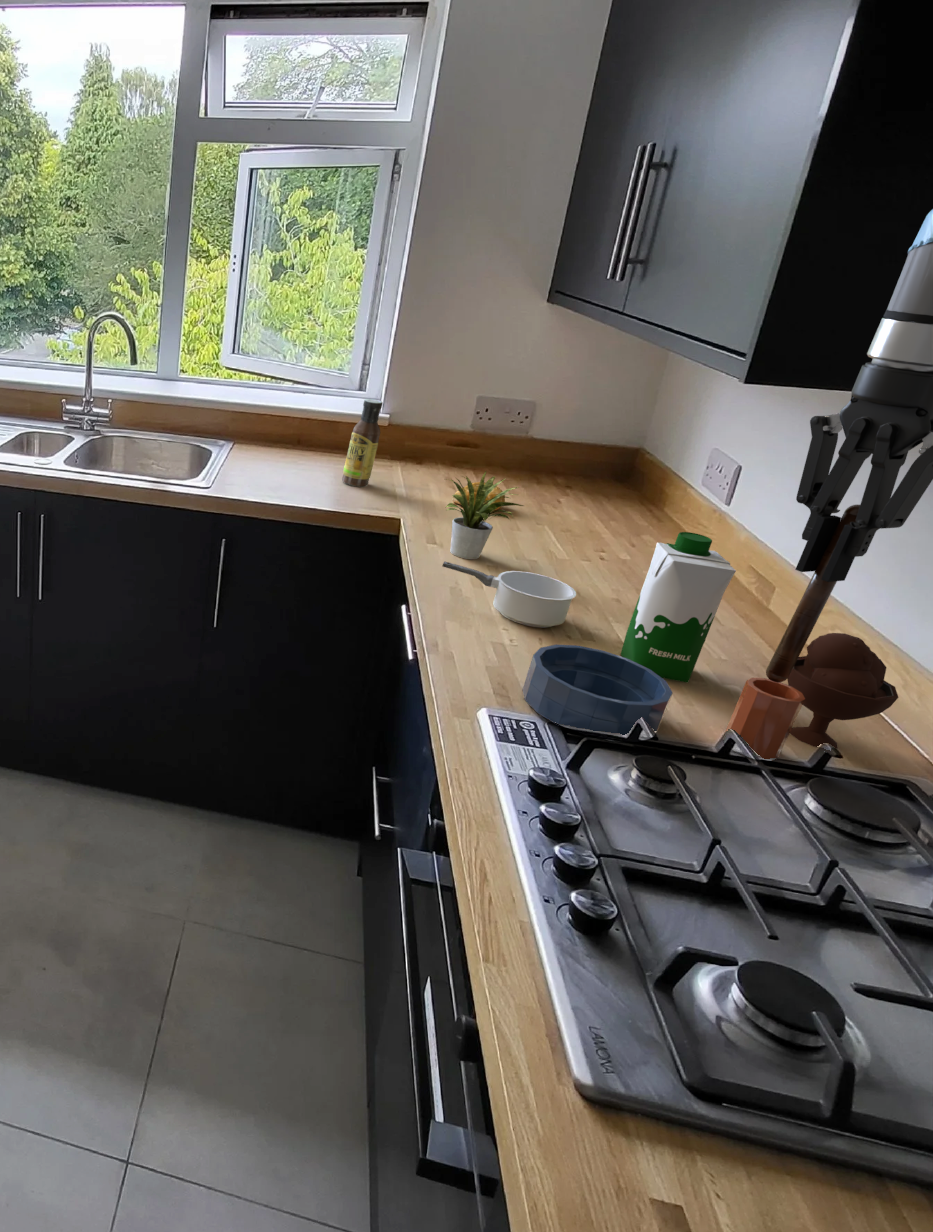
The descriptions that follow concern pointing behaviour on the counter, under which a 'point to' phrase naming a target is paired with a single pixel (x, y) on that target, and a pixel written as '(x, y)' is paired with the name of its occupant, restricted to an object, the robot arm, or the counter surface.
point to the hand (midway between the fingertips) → (819, 574)
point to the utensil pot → (766, 715)
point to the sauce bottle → (363, 446)
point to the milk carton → (677, 606)
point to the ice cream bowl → (839, 684)
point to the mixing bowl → (594, 689)
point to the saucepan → (526, 596)
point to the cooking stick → (807, 610)
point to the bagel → (475, 486)
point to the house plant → (475, 518)
